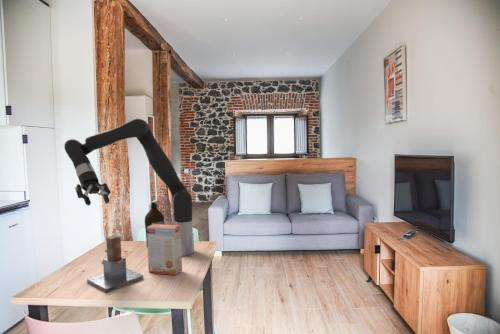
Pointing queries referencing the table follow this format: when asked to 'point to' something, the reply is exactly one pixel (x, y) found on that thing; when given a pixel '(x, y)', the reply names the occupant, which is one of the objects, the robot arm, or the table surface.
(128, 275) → the stand
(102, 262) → the adjustable wrench
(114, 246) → the post
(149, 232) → the cracker box
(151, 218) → the olive oil
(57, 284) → the table surface
